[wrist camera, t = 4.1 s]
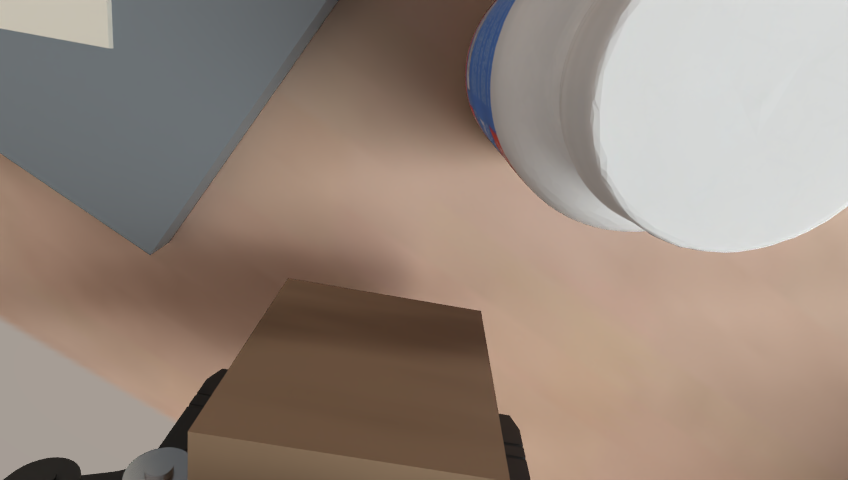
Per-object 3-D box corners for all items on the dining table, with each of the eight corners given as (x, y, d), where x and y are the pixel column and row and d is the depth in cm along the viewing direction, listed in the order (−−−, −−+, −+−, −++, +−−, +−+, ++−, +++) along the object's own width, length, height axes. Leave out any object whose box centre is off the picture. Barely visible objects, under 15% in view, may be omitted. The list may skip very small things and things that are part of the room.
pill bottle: (439, 130, 15) (451, 229, 6) (502, -55, 14) (647, -295, 4) (597, 184, 16) (822, 349, 7) (677, 12, 14) (1129, -78, 5)
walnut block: (288, 278, 14) (187, 431, 8) (480, 311, 14) (510, 482, 8) (274, 431, 16) (187, 637, 10) (443, 457, 16) (448, 673, 10)
